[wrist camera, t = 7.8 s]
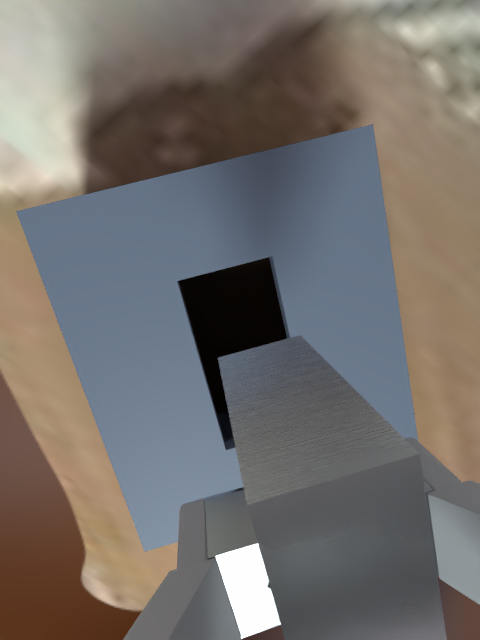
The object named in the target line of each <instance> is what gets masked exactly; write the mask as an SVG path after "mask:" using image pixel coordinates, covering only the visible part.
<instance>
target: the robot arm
mask: <svg viewBox="0 0 480 640" xmlns="http://www.w3.org/2000/svg"><path fill="white" fill-rule="evenodd" d="M405 440H406V441H407V442H408V443H409V444H410V445H411V446H412V447H413V448H414V449H415V450H416V451H417V452H418V453H419V454H420V460H421V467H422V473H423V480H424V487H425V494H426V501H427V508H428V515H429V522H430V529H431V535H432V542H433V549H434V556H435V563H436V570H437V576H439V578H440V579H441V580H443V581H444V582H446V583H447V584H449V585H450V586H452V587H454V588H455V589H457V590H458V591H460V592H461V593H463V594H464V595H466V596H467V597H469V598H470V599H472V600H473V601H475V602H477V603H478V604H479V605H480V484H479V483H476V482H473V481H466V482H463V483H462V482H461V481H460V480H459V479H458V478H457V477H456V476H455V475H454V474H453V473H452V472H451V471H449V470H448V469H447V468H446V467H445V466H444V465H443V464H442V463H441V462H440V461H439V460H438V459H437V458H435V457H434V456H433V455H432V454H431V453H430V452H429V451H428V450H427V449H426V448H425V447H424V446H423V445H422V444H420V443H419V442H418V441H417V440H416V439H415V438H412V437H408V438H405ZM277 625H281V623H280V619H279V616H278V612H277V609H276V605H275V602H274V598H273V595H272V591H271V588H270V584H269V581H268V577H267V574H266V570H265V567H264V563H263V560H262V556H261V553H260V549H259V545H258V542H257V538H256V535H255V531H254V528H253V524H252V521H251V517H250V514H249V510H248V507H247V503H246V497H245V492H244V487H242V488H238V489H235V490H231V491H227V492H224V493H220V494H216V495H212V496H209V497H206V498H202V499H198V500H195V501H191V502H188V503H184V504H182V505H181V507H180V512H179V534H178V556H177V569H176V570H172V571H170V572H169V573H168V574H167V576H166V577H165V579H164V580H163V582H162V583H161V585H160V586H159V587H158V589H157V590H156V592H155V593H154V595H153V596H152V598H151V599H150V601H149V602H148V604H147V605H146V607H145V608H144V610H143V611H142V613H141V614H140V615H139V617H138V618H137V620H136V621H135V623H134V624H133V626H132V627H131V629H130V630H129V632H128V633H127V635H126V636H125V638H124V639H123V640H242V639H241V638H244V637H246V636H249V635H252V634H255V633H258V632H260V631H264V630H266V629H269V628H272V627H275V626H277Z"/></svg>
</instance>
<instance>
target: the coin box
mask: <svg viewBox="0 0 480 640" xmlns="http://www.w3.org/2000/svg"><path fill="white" fill-rule="evenodd" d="M16 212H17V215H18V217H19V220H20V223H21V225H22V228H23V230H24V233H25V236H26V238H27V241H28V244H29V246H30V249H31V252H32V254H33V257H34V260H35V262H36V265H37V268H38V270H39V273H40V276H41V278H42V281H43V283H44V286H45V289H46V291H47V294H48V297H49V299H50V302H51V305H52V307H53V310H54V313H55V315H56V318H57V321H58V323H59V326H60V329H61V331H62V334H63V337H64V339H65V342H66V344H67V347H68V350H69V352H70V355H71V358H72V360H73V363H74V366H75V368H76V371H77V374H78V376H79V379H80V382H81V384H82V387H83V390H84V392H85V395H86V397H87V400H88V403H89V405H90V408H91V411H92V413H93V416H94V419H95V421H96V424H97V427H98V429H99V432H100V435H101V437H102V440H103V443H104V445H105V448H106V450H107V453H108V456H109V458H110V461H111V464H112V466H113V469H114V472H115V474H116V477H117V480H118V482H119V485H120V488H121V490H122V493H123V496H124V498H125V501H126V504H127V506H128V509H129V511H130V514H131V517H132V519H133V522H134V525H135V527H136V530H137V533H138V535H139V538H140V541H141V543H142V546H143V549H144V551H148V550H152V549H155V548H159V547H162V546H165V545H169V544H172V543H175V542H178V534H179V512H180V507H181V505H182V504H184V503H188V502H191V501H195V500H198V499H202V498H206V497H209V496H212V495H216V494H220V493H224V492H227V491H231V490H235V489H238V488H242V487H243V482H242V477H241V472H240V467H239V462H238V457H237V452H236V447H235V442H234V437H233V432H232V427H231V422H230V417H229V412H228V411H227V412H223V413H220V414H217V413H216V410H215V406H214V403H213V399H212V396H211V392H210V389H209V385H208V382H207V378H206V375H205V371H204V368H203V364H202V361H201V357H200V354H199V350H198V347H197V343H196V340H195V336H194V333H193V329H192V326H191V322H190V319H189V316H188V312H187V309H186V305H185V302H184V298H183V295H182V291H181V288H180V284H179V280H183V279H187V278H191V277H195V276H199V275H203V274H206V273H210V272H214V271H218V270H222V269H226V268H229V267H233V266H237V265H241V264H245V263H249V262H253V261H256V260H260V259H264V258H268V257H269V259H270V263H271V268H272V272H273V277H274V281H275V286H276V290H277V295H278V299H279V304H280V308H281V313H282V317H283V322H284V326H285V331H286V335H287V339H288V338H291V337H295V336H299V335H301V336H302V337H303V338H304V339H305V340H306V341H307V342H308V343H309V344H310V345H311V346H312V347H313V348H314V349H315V350H316V351H317V352H318V353H319V354H320V355H321V356H322V357H323V358H324V359H325V360H326V361H327V362H328V363H329V364H330V365H331V366H332V367H333V368H334V369H335V370H336V371H337V372H338V373H339V374H340V375H341V376H342V377H343V378H344V379H345V380H346V381H347V382H348V383H349V384H350V385H351V386H352V387H353V388H354V389H355V390H356V391H357V392H358V393H359V394H360V395H361V396H362V397H363V398H364V399H365V400H366V401H367V402H368V403H369V404H370V405H371V406H372V407H373V408H374V409H375V410H376V411H377V412H378V413H379V414H380V415H381V416H382V417H383V418H384V419H385V420H386V421H387V422H388V423H389V424H390V425H391V426H392V427H393V428H394V429H395V430H396V431H397V432H398V433H399V434H400V435H401V436H402V437H403V438H404V439H405V438H408V437H412V438H415V439H416V440H417V441H418V437H417V430H416V423H415V416H414V409H413V402H412V395H411V388H410V381H409V374H408V367H407V360H406V353H405V346H404V339H403V332H402V325H401V318H400V311H399V304H398V297H397V290H396V283H395V276H394V269H393V262H392V255H391V248H390V241H389V234H388V227H387V220H386V213H385V206H384V199H383V192H382V185H381V178H380V171H379V164H378V157H377V150H376V143H375V136H374V129H373V124H372V125H368V126H364V127H360V128H356V129H352V130H348V131H344V132H340V133H335V134H331V135H327V136H323V137H319V138H315V139H311V140H307V141H303V142H299V143H294V144H290V145H286V146H282V147H278V148H274V149H270V150H266V151H262V152H258V153H254V154H249V155H245V156H241V157H237V158H233V159H229V160H225V161H221V162H217V163H213V164H208V165H204V166H200V167H196V168H192V169H188V170H184V171H180V172H176V173H172V174H167V175H163V176H159V177H155V178H151V179H147V180H143V181H139V182H135V183H131V184H127V185H122V186H118V187H114V188H110V189H106V190H102V191H98V192H94V193H90V194H86V195H81V196H77V197H73V198H69V199H65V200H61V201H57V202H53V203H49V204H45V205H40V206H36V207H32V208H28V209H24V210H20V211H16Z"/></svg>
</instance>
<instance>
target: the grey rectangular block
mask: <svg viewBox="0 0 480 640" xmlns="http://www.w3.org/2000/svg"><path fill="white" fill-rule="evenodd" d="M218 362H219V367H220V372H221V377H222V382H223V387H224V392H225V397H226V402H227V407H228V412H229V417H230V422H231V427H232V432H233V437H234V442H235V447H236V452H237V457H238V462H239V467H240V472H241V477H242V482H243V487H244V492H245V497H246V503H247V507H248V510H249V514H250V517H251V521H252V524H253V528H254V531H255V535H256V538H257V542H258V545H259V549H260V553H261V556H262V560H263V563H264V567H265V570H266V574H267V577H268V581H269V584H270V588H271V591H272V595H273V598H274V602H275V605H276V609H277V612H278V616H279V619H280V623H281V626H282V630H283V633H284V637H285V640H447V639H446V632H445V625H444V618H443V612H442V604H441V598H440V591H439V584H438V577H437V570H436V563H435V556H434V549H433V542H432V535H431V529H430V522H429V515H428V508H427V501H426V494H425V487H424V480H423V473H422V467H421V460H420V454H419V453H418V452H417V451H416V450H415V449H414V448H413V447H412V446H411V445H410V444H409V443H408V442H407V441H406V440H405V439H404V438H403V437H402V436H401V435H400V434H399V433H398V432H397V431H396V430H395V429H394V428H393V427H392V426H391V425H390V424H389V423H388V422H387V421H386V420H385V419H384V418H383V417H382V416H381V415H380V414H379V413H378V412H377V411H376V410H375V409H374V408H373V407H372V406H371V405H370V404H369V403H368V402H367V401H366V400H365V399H364V398H363V397H362V396H361V395H360V394H359V393H358V392H357V391H356V390H355V389H354V388H353V387H352V386H351V385H350V384H349V383H348V382H347V381H346V380H345V379H344V378H343V377H342V376H341V375H340V374H339V373H338V372H337V371H336V370H335V369H334V368H333V367H332V366H331V365H330V364H329V363H328V362H327V361H326V360H325V359H324V358H323V357H322V356H321V355H320V354H319V353H318V352H317V351H316V350H315V349H314V348H313V347H312V346H311V345H310V344H309V343H308V342H307V341H306V340H305V339H304V338H303V337H302V336H301V335H299V336H295V337H291V338H288V339H284V340H280V341H277V342H273V343H270V344H266V345H262V346H259V347H255V348H251V349H248V350H244V351H240V352H237V353H233V354H229V355H226V356H222V357H218Z"/></svg>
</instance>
